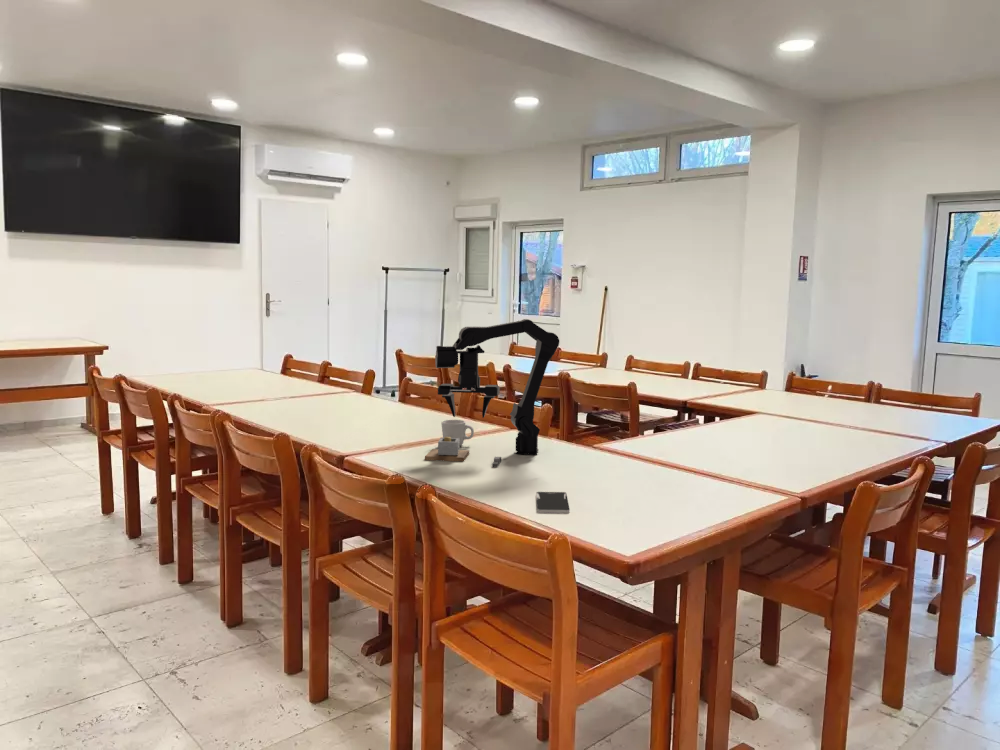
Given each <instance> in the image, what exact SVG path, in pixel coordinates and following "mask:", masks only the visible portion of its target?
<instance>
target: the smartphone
mask: <svg viewBox="0 0 1000 750" xmlns="http://www.w3.org/2000/svg"><path fill="white" fill-rule="evenodd" d="M535 493H536V494H535V498H536V499H535V501H536V512H537V513H538V514H541V513H544V514H569V513H570V504H569V500H568V499H569V498H568V495H567V492H566V491H543V490H542V491H536V492H535Z"/></svg>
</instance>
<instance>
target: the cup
mask: <svg viewBox="0 0 1000 750" xmlns="http://www.w3.org/2000/svg"><path fill="white" fill-rule="evenodd" d="M467 429H469V430H470V435H469V436H468V435H467V434H466V431H467ZM441 432H442V438H444V437H451V438H460V446H462V445H463V444H464V441H466V440H470V439H472V438H473V436H474V434H475V433H474V427H473V426H471V425H469V424H466V421H465V420H461V419H445V420H442V421H441Z"/></svg>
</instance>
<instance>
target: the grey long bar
mask: <svg viewBox="0 0 1000 750" xmlns="http://www.w3.org/2000/svg"><path fill="white" fill-rule="evenodd" d="M501 461H502V456H494V457H493V462H492V464H491V465H492V468H498V467H499V465H500V463H501Z"/></svg>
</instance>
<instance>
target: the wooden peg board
mask: <svg viewBox="0 0 1000 750" xmlns="http://www.w3.org/2000/svg"><path fill="white" fill-rule="evenodd" d="M444 441H449V442H451V437H444ZM467 456H468V457H469V456H470V450H468V449H467V450H466V449H460V451H459V453H458V455H438V448H432V449H431V450H429V452H428V453H427V454H425V455H424V460H425V461H436V460H442V461H443V460H444V461H443V462H463V461H464V460H465V461H466V459H467V458H468V457H467ZM465 461H464V462H465Z"/></svg>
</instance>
